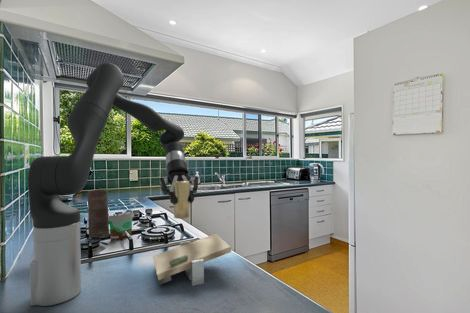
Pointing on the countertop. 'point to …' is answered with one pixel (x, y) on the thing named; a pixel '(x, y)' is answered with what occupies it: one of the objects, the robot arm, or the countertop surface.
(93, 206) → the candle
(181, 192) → the cylinder
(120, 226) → the food container
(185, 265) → the tilting board
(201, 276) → the board stand
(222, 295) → the countertop surface
